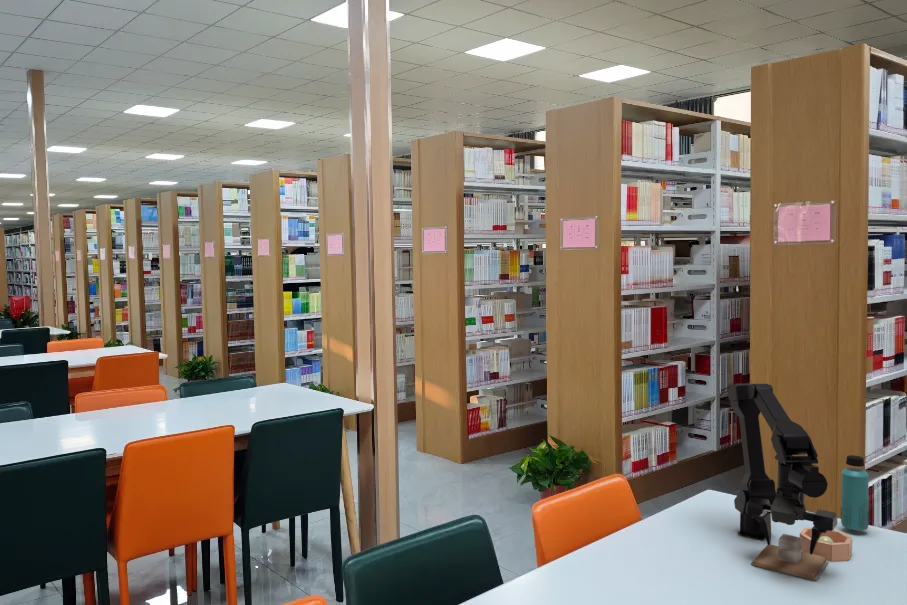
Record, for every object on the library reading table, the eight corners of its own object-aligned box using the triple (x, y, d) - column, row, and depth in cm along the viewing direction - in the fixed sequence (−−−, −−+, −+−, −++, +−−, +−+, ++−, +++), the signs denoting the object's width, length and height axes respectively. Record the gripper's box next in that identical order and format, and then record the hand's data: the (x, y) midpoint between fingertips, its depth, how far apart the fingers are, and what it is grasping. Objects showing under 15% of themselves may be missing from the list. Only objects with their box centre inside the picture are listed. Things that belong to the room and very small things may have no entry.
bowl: (796, 553, 172) (796, 537, 172) (806, 539, 180) (806, 524, 180) (846, 564, 165) (846, 548, 165) (854, 550, 173) (855, 534, 173)
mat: (750, 564, 165) (750, 563, 165) (765, 548, 175) (765, 547, 175) (816, 581, 157) (816, 579, 157) (828, 563, 166) (828, 561, 166)
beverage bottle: (872, 537, 182) (874, 460, 181) (844, 535, 183) (846, 459, 182) (863, 527, 188) (864, 453, 187) (836, 526, 189) (837, 452, 188)
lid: (752, 564, 165) (752, 540, 164) (768, 547, 175) (768, 524, 175) (813, 579, 157) (814, 554, 156) (826, 560, 167) (826, 536, 166)
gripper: (738, 484, 164) (738, 550, 165) (827, 500, 153) (826, 571, 153) (753, 473, 173) (752, 535, 174) (838, 487, 161) (837, 554, 162)
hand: (789, 549), depth 166 cm, fingers open, 9 cm apart
